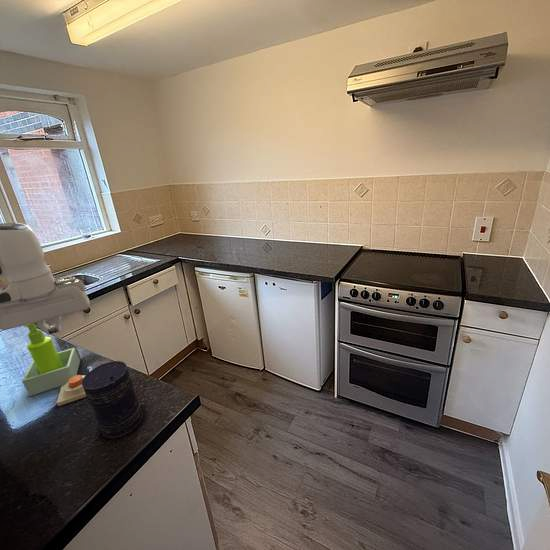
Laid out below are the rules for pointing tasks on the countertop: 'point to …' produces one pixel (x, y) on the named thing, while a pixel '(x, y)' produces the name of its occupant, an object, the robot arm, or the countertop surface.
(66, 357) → the box
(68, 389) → the control box
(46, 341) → the soap dispenser
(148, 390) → the countertop surface
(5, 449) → the countertop surface
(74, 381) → the button
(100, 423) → the storage jar
